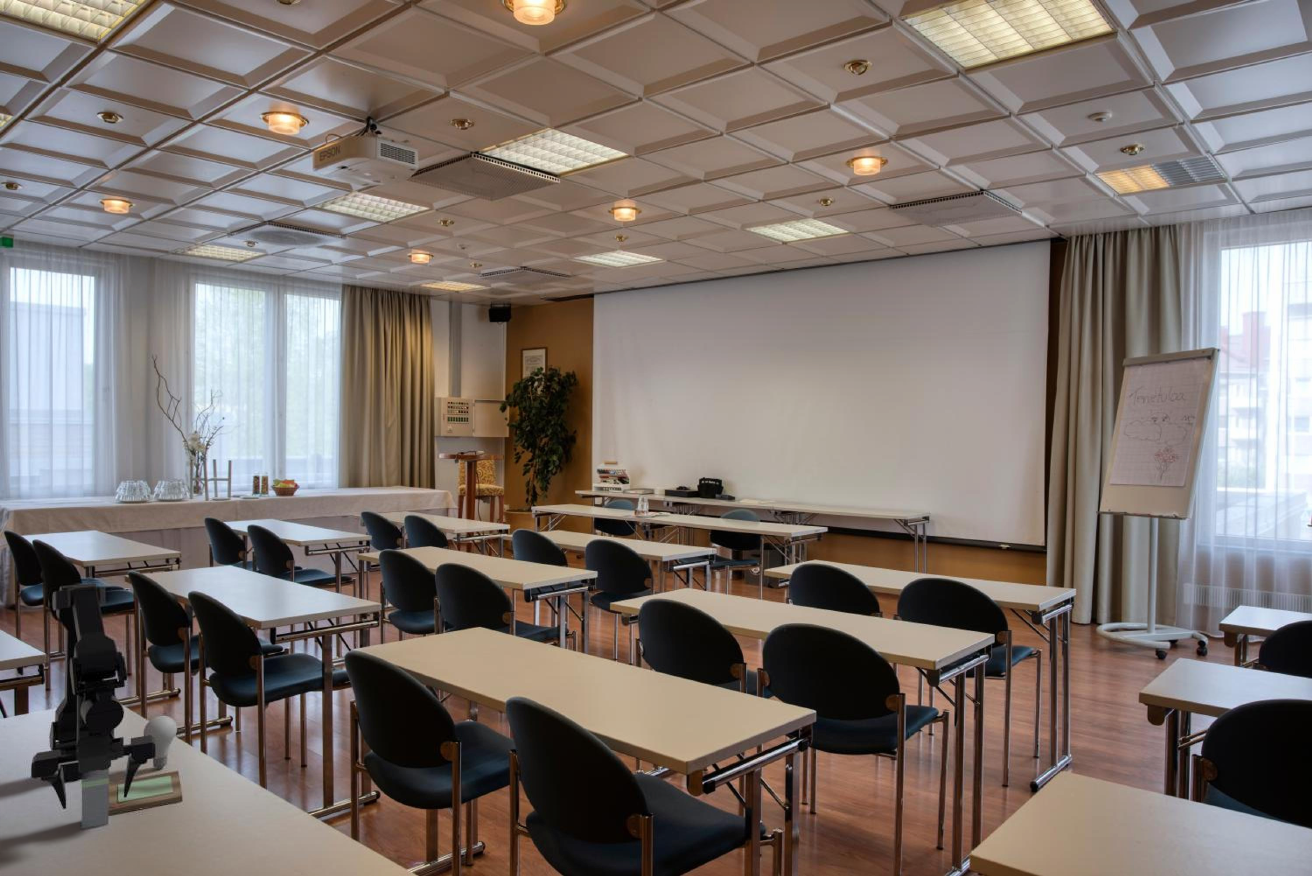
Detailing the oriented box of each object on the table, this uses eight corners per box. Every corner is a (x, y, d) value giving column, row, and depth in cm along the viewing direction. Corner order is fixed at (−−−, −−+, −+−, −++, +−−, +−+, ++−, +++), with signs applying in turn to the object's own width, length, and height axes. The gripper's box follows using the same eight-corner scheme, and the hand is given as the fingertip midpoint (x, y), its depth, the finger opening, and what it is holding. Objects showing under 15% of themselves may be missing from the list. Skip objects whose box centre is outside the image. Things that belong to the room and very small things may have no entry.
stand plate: (109, 788, 170) (109, 782, 170) (178, 775, 177) (178, 769, 177) (108, 815, 158) (108, 809, 158) (182, 801, 165) (182, 795, 165)
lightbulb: (142, 776, 176) (142, 723, 176) (144, 765, 181) (144, 714, 181) (176, 771, 179) (176, 719, 179) (177, 760, 184) (177, 710, 184)
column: (82, 820, 156) (82, 771, 156) (108, 815, 158) (109, 767, 158) (81, 830, 153) (81, 780, 153) (108, 824, 155) (108, 775, 155)
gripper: (28, 741, 144) (28, 833, 144) (156, 721, 154) (156, 808, 154) (33, 721, 153) (33, 807, 153) (154, 704, 163) (154, 785, 163)
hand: (95, 802), depth 156 cm, fingers open, 9 cm apart
